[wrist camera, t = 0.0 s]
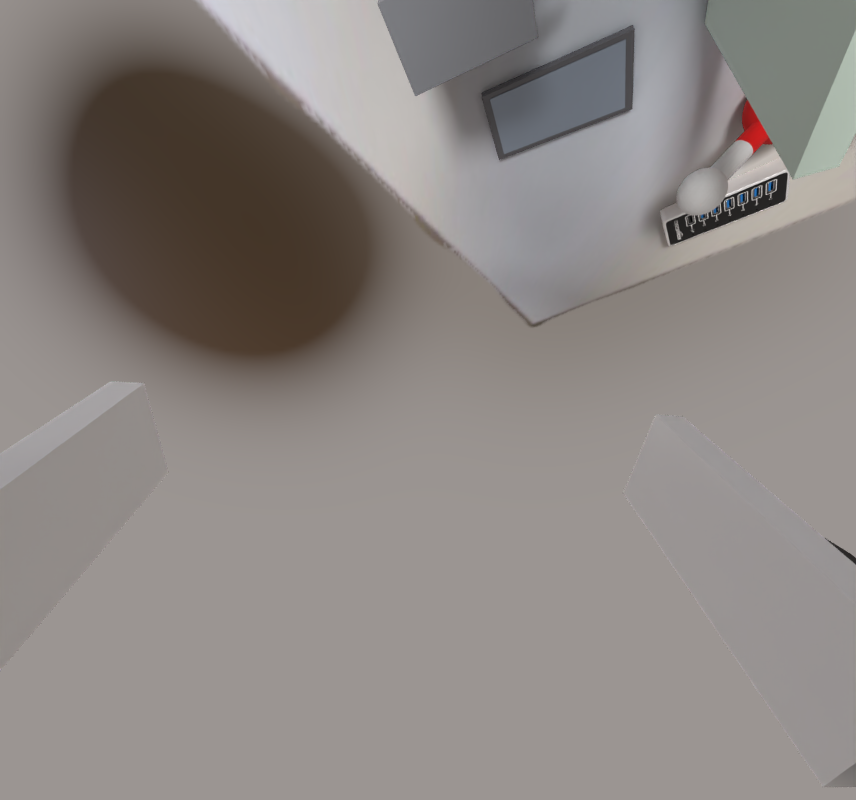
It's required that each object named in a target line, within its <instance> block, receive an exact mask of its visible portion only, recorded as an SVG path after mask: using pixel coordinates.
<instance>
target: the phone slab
mask: <svg viewBox="0 0 856 800" xmlns="http://www.w3.org/2000/svg"><path fill="white" fill-rule="evenodd" d="M633 62H634V27H633V25H632V26H630V27H628V28H626V29H623V30H621V31H619V32H617V33H614V34H612V35H610V36H608V37H606V38H603V39H601V40H599V41H597V42H594V43H592V44H590V45H588V46H586V47H583V48H581V49H579V50H577V51H574V52H572V53H570V54H568V55H566V56H563V57H561V58H559V59H557V60H554V61H552V62H550V63H548V64H546V65H543V66H541V67H539V68H537V69H534V70H532V71H530V72H528V73H526V74H523V75H521V76H519V77H517V78H514V79H512V80H510V81H508V82H506V83H503V84H501V85H499V86H497V87H495V88H492V89H490V90H488V91H486V92H483V93H482V99H483V103H484V107H485V110H486V114H487V118H488V121H489V125H490V128H491V132H492V136H493V139H494V143H495V147H496V150H497V154H498V158H499V160H500V159H503V158H505V157H508V156H511V155H513V154H516V153H518V152H521V151H524V150H526V149H529V148H532V147H534V146H537V145H539V144H542V143H545V142H547V141H550V140H553V139H555V138H558V137H560V136H563V135H566V134H568V133H571V132H573V131H576V130H579V129H581V128H584V127H587V126H589V125H592V124H594V123H597V122H600V121H602V120H605V119H608V118H610V117H613V116H615V115H618V114H621V113H623V112H626V111H629V110H631V109H632V100H633Z"/></svg>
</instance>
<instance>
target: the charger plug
mask: <svg viewBox="0 0 856 800" xmlns="http://www.w3.org/2000/svg"><path fill="white" fill-rule="evenodd" d="M378 6H379V9H380V11H381V13H382V16H383V18H384V21H385V23H386V26H387V28H388V31H389V33H390V36H391V38H392V40H393V43H394V45H395V48H396V50H397V53H398V55H399V58H400V60H401V62H402V65H403V67H404V70H405V72H406V75H407V77H408V80H409V82H410V84H411V87H412V89H413V92H414V94H415V96H417V95H419V94H421V93H423V92H425V91H427V90H430V89H432V88H434V87H436V86H438V85H440V84H442V83H444V82H446V81H448V80H450V79H453V78H455V77H457V76H459V75H461V74H463V73H465V72H467V71H469V70H471V69H473V68H475V67H478V66H480V65H482V64H484V63H486V62H488V61H490V60H492V59H494V58H496V57H498V56H501V55H503V54H505V53H507V52H509V51H511V50H513V49H515V48H517V47H519V46H521V45H523V44H526V43H528V42H530V41H532V40H534V39H536V38H538V33H537V26H536V19H535V12H534V5H533V0H378Z"/></svg>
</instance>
